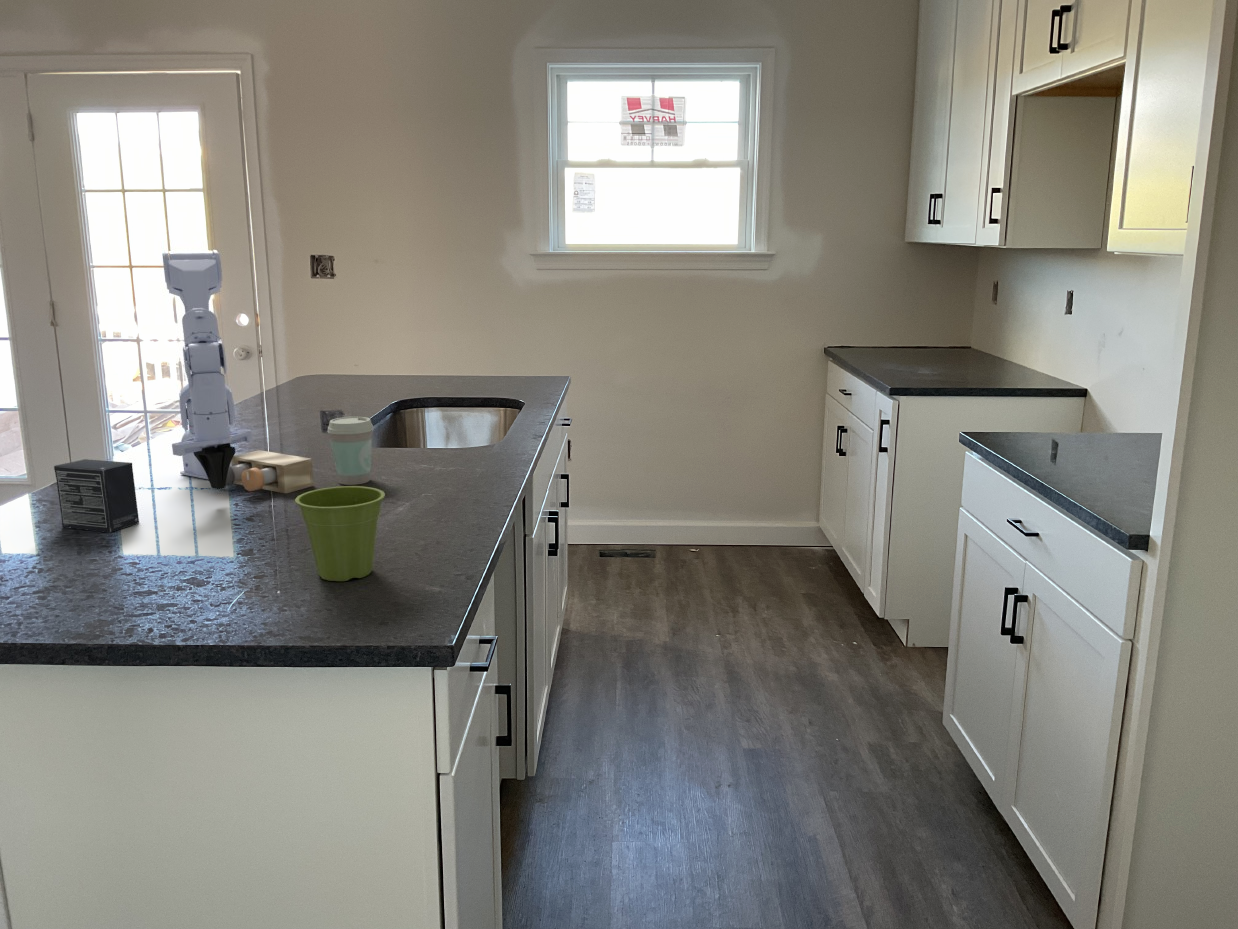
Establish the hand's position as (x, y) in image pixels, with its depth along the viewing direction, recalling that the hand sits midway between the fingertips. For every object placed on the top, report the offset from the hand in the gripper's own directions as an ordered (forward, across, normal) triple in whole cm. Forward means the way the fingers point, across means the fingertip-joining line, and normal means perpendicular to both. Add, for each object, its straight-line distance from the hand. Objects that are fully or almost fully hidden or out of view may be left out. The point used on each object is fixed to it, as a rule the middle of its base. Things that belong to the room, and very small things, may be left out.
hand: (218, 488), depth 170 cm
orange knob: (+2, +10, 0) cm, 10 cm away
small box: (+3, -18, +6) cm, 19 cm away
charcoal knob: (+2, +9, +7) cm, 11 cm away
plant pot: (+3, -14, -47) cm, 49 cm away
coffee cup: (+3, +24, -8) cm, 25 cm away
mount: (+3, +14, +4) cm, 15 cm away
